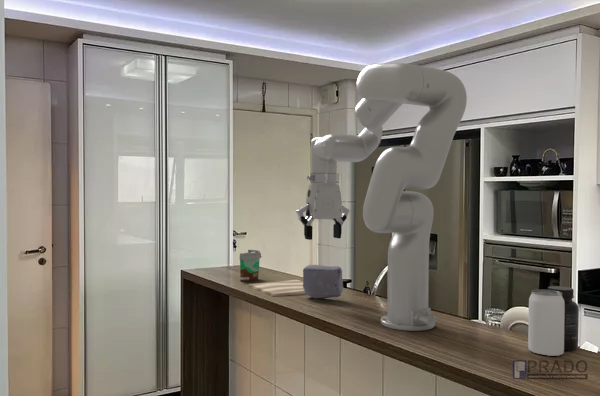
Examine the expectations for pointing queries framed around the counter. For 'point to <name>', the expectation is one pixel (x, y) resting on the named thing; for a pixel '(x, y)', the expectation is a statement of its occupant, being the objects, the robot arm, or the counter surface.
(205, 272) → the counter surface
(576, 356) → the counter surface
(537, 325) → the can
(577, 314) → the supplement bottle
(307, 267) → the stone block
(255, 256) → the food container
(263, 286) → the striped cloth
